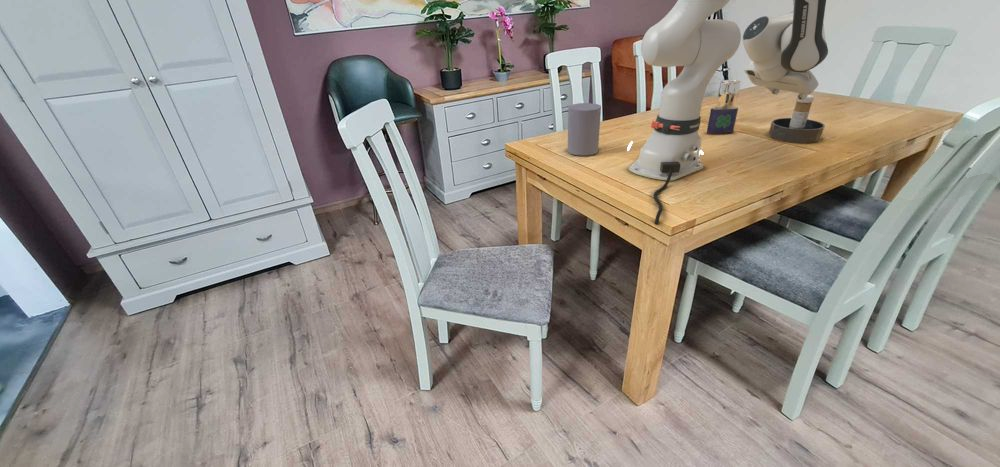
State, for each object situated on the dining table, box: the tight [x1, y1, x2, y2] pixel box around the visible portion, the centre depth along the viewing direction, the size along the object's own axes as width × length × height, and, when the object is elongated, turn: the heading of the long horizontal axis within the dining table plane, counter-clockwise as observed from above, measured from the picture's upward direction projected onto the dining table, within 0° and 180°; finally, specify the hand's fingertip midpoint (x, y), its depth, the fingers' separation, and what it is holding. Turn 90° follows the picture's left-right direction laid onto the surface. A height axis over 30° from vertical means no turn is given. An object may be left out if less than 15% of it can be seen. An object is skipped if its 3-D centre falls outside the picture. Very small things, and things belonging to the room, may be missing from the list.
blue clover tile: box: [706, 103, 739, 135], centre depth 147 cm, size 9×3×11 cm, turn 88°
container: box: [566, 102, 602, 157], centre depth 137 cm, size 10×10×15 cm
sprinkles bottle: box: [789, 94, 815, 129], centre depth 138 cm, size 5×5×13 cm
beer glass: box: [716, 79, 742, 108], centre depth 159 cm, size 7×7×15 cm
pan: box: [768, 117, 826, 144], centre depth 141 cm, size 15×15×4 cm
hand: (789, 95), depth 131 cm, fingers open, 8 cm apart
